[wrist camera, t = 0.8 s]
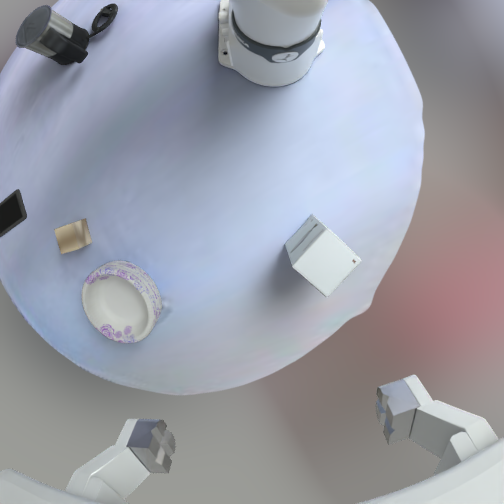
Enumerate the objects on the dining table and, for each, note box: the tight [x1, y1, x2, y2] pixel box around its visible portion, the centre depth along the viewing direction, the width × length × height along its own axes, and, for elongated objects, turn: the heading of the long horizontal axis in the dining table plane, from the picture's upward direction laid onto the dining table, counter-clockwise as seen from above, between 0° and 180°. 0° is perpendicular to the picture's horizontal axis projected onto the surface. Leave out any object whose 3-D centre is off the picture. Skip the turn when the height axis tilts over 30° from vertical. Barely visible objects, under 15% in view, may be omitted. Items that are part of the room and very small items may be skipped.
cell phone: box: [0, 189, 27, 237], centre depth 50 cm, size 7×14×1 cm, turn 109°
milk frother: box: [16, 4, 118, 65], centre depth 33 cm, size 14×16×15 cm
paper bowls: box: [82, 260, 162, 343], centre depth 51 cm, size 15×15×8 cm
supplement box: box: [285, 214, 362, 297], centre depth 45 cm, size 7×7×13 cm
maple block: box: [54, 218, 92, 254], centre depth 49 cm, size 5×5×5 cm
